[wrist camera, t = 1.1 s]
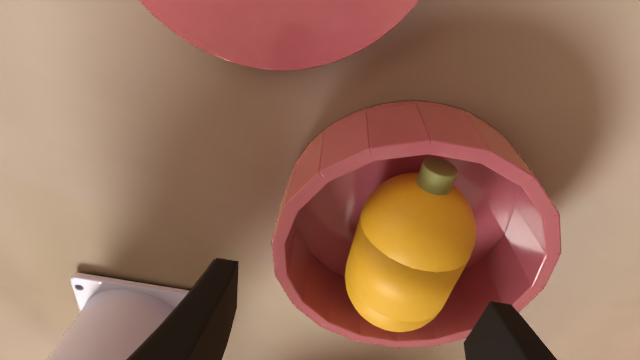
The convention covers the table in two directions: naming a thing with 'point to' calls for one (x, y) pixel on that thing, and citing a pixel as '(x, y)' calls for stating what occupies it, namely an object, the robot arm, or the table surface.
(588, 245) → the table surface
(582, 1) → the table surface
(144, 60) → the table surface
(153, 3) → the lid
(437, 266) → the yellow rounded oblong piece
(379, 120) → the pot
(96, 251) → the table surface
